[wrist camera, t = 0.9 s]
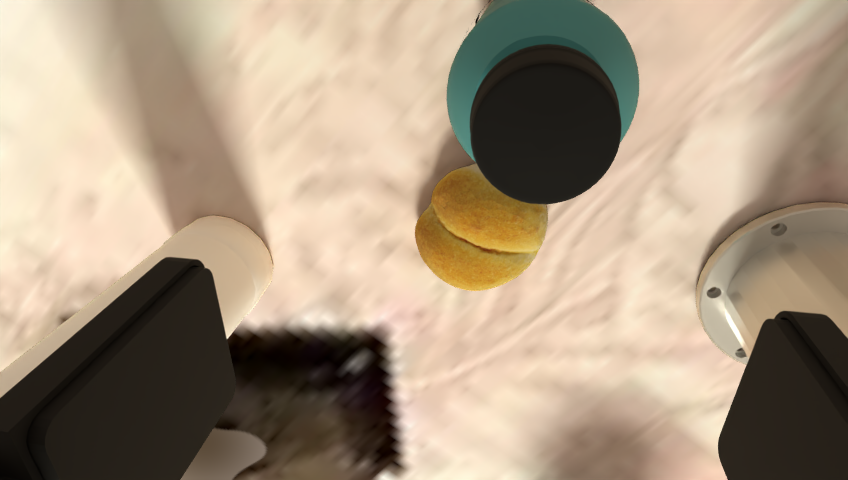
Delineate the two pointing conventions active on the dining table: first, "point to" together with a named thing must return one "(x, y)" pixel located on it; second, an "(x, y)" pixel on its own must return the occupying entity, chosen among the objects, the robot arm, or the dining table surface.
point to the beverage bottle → (543, 96)
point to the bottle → (203, 239)
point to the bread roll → (478, 232)
